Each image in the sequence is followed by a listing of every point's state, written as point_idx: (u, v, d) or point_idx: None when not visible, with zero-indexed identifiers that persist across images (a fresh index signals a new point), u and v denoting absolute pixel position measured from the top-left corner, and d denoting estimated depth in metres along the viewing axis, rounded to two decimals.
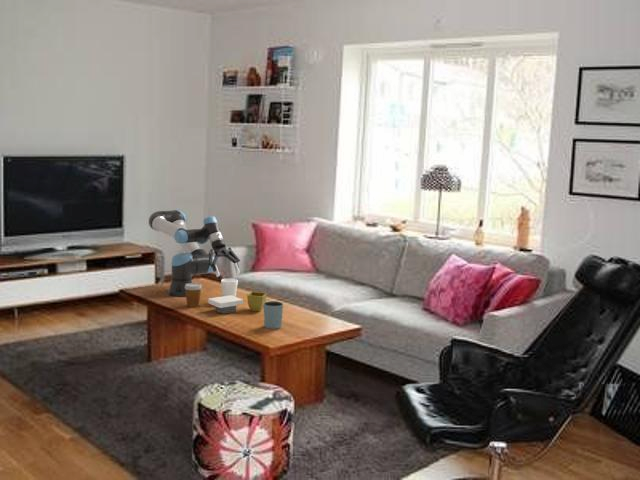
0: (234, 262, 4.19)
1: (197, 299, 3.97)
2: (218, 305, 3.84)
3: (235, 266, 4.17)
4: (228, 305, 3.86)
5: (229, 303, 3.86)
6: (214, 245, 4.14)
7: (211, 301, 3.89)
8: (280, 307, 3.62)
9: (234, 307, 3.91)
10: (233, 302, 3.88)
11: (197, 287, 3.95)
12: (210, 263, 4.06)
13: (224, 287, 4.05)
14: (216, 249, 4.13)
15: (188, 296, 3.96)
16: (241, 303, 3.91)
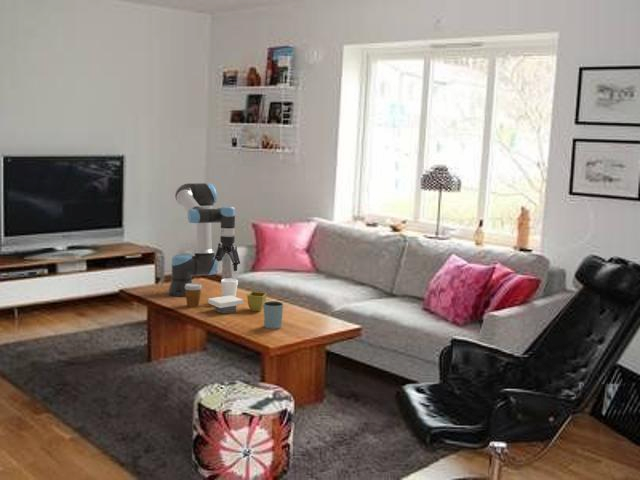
0: None
1: (197, 299, 3.97)
2: (218, 305, 3.84)
3: None
4: (228, 305, 3.86)
5: (229, 303, 3.86)
6: None
7: (211, 301, 3.89)
8: (280, 307, 3.62)
9: (234, 307, 3.91)
10: (233, 302, 3.88)
11: (197, 287, 3.95)
12: (214, 258, 3.96)
13: (224, 287, 4.05)
14: (222, 245, 3.90)
15: (188, 296, 3.96)
16: (241, 303, 3.91)
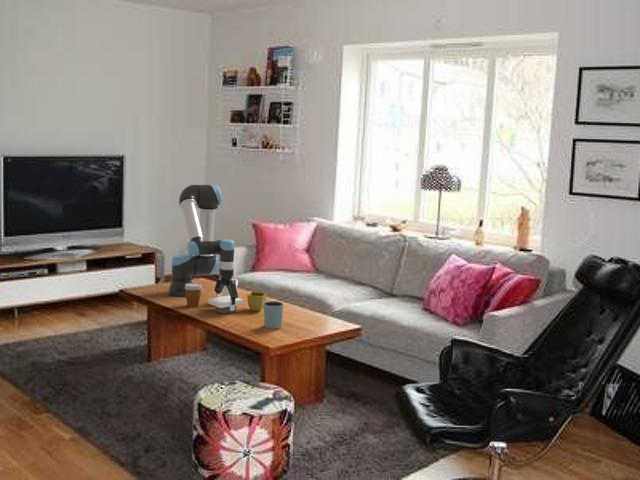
0: None
1: (197, 299, 3.97)
2: (218, 305, 3.84)
3: None
4: (228, 305, 3.86)
5: (229, 303, 3.86)
6: None
7: (211, 301, 3.89)
8: (280, 307, 3.62)
9: None
10: None
11: (197, 287, 3.95)
12: (214, 290, 3.97)
13: (224, 287, 4.05)
14: (221, 277, 3.91)
15: (188, 296, 3.96)
16: (241, 303, 3.91)
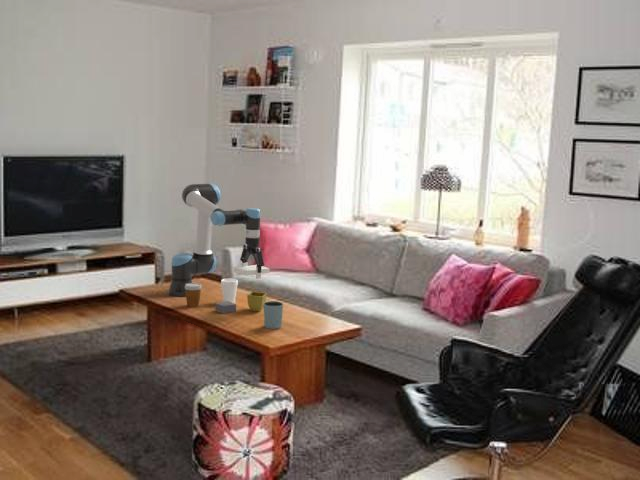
0: None
1: (197, 299, 3.97)
2: (244, 273, 3.84)
3: None
4: (254, 273, 3.87)
5: (255, 271, 3.87)
6: None
7: (237, 269, 3.90)
8: (280, 307, 3.62)
9: (234, 307, 3.91)
10: None
11: (197, 287, 3.95)
12: (240, 259, 3.98)
13: (224, 287, 4.05)
14: (247, 246, 3.92)
15: (188, 296, 3.96)
16: (267, 272, 3.92)
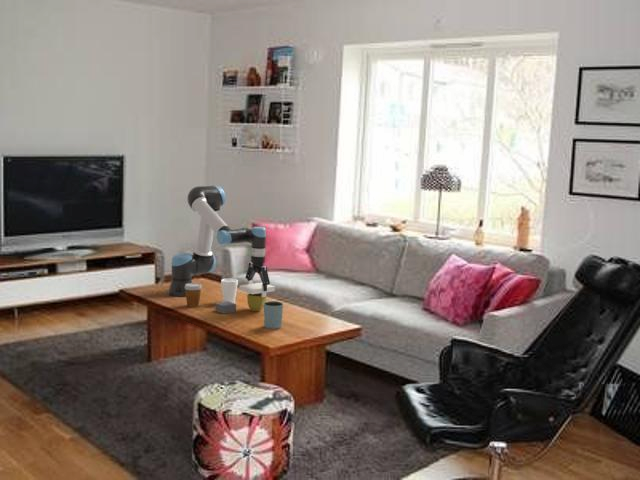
0: None
1: (197, 299, 3.97)
2: (250, 291, 3.87)
3: None
4: (260, 292, 3.90)
5: (261, 290, 3.90)
6: None
7: (243, 288, 3.92)
8: (280, 307, 3.62)
9: (234, 307, 3.91)
10: None
11: (197, 287, 3.95)
12: (245, 277, 4.01)
13: (224, 287, 4.05)
14: (253, 264, 3.95)
15: (188, 296, 3.96)
16: (272, 290, 3.95)
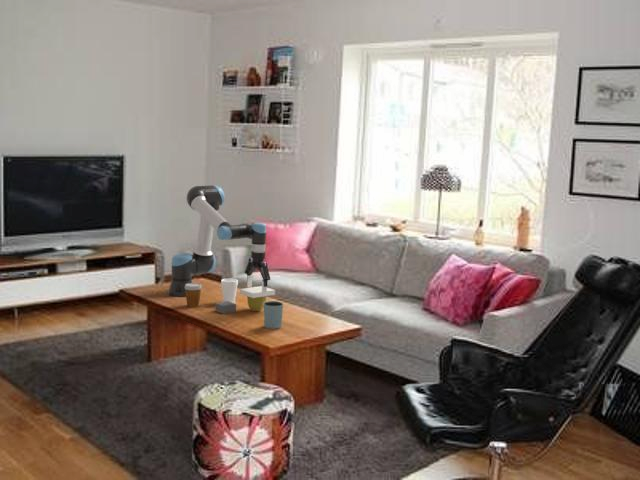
0: None
1: (197, 299, 3.97)
2: (251, 295, 3.88)
3: None
4: (260, 295, 3.90)
5: (261, 293, 3.90)
6: None
7: (243, 291, 3.93)
8: (280, 307, 3.62)
9: (234, 307, 3.91)
10: (265, 292, 3.92)
11: (197, 287, 3.95)
12: None
13: (224, 287, 4.05)
14: (253, 260, 3.95)
15: (188, 296, 3.96)
16: (273, 293, 3.95)
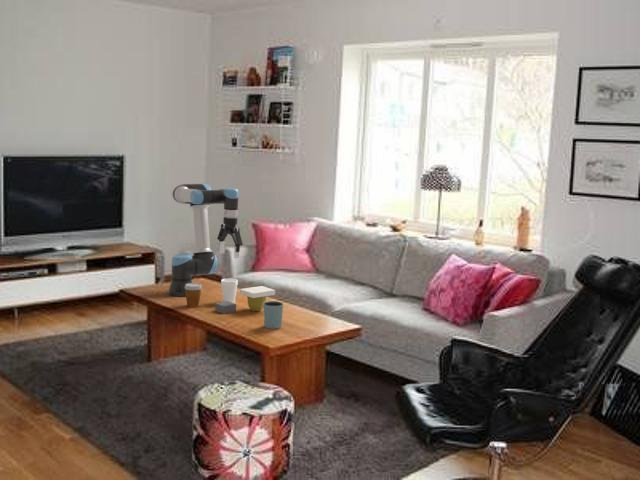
0: None
1: (197, 299, 3.97)
2: (251, 295, 3.88)
3: None
4: (260, 295, 3.90)
5: (261, 293, 3.90)
6: None
7: (243, 291, 3.93)
8: (280, 307, 3.62)
9: (234, 307, 3.91)
10: (265, 292, 3.92)
11: (197, 287, 3.95)
12: (217, 238, 4.01)
13: (224, 287, 4.05)
14: (225, 226, 3.95)
15: (188, 296, 3.96)
16: (273, 293, 3.95)
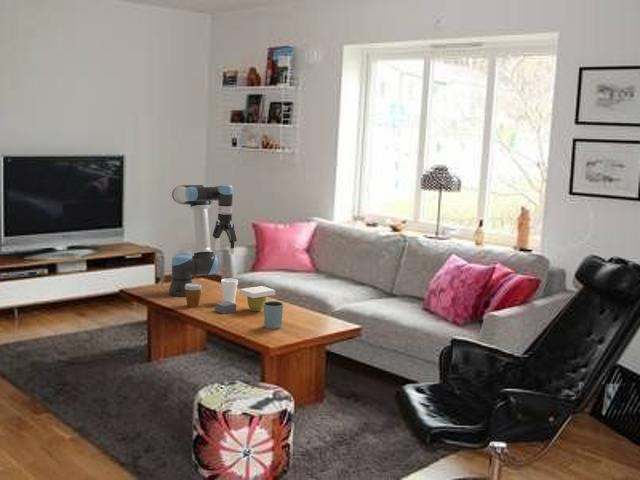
0: None
1: (197, 299, 3.97)
2: (251, 295, 3.88)
3: None
4: (260, 295, 3.90)
5: (261, 293, 3.90)
6: None
7: (243, 291, 3.93)
8: (280, 307, 3.62)
9: (234, 307, 3.91)
10: (265, 292, 3.92)
11: (197, 287, 3.95)
12: None
13: (224, 287, 4.05)
14: (220, 222, 3.95)
15: (188, 296, 3.96)
16: (273, 293, 3.95)
